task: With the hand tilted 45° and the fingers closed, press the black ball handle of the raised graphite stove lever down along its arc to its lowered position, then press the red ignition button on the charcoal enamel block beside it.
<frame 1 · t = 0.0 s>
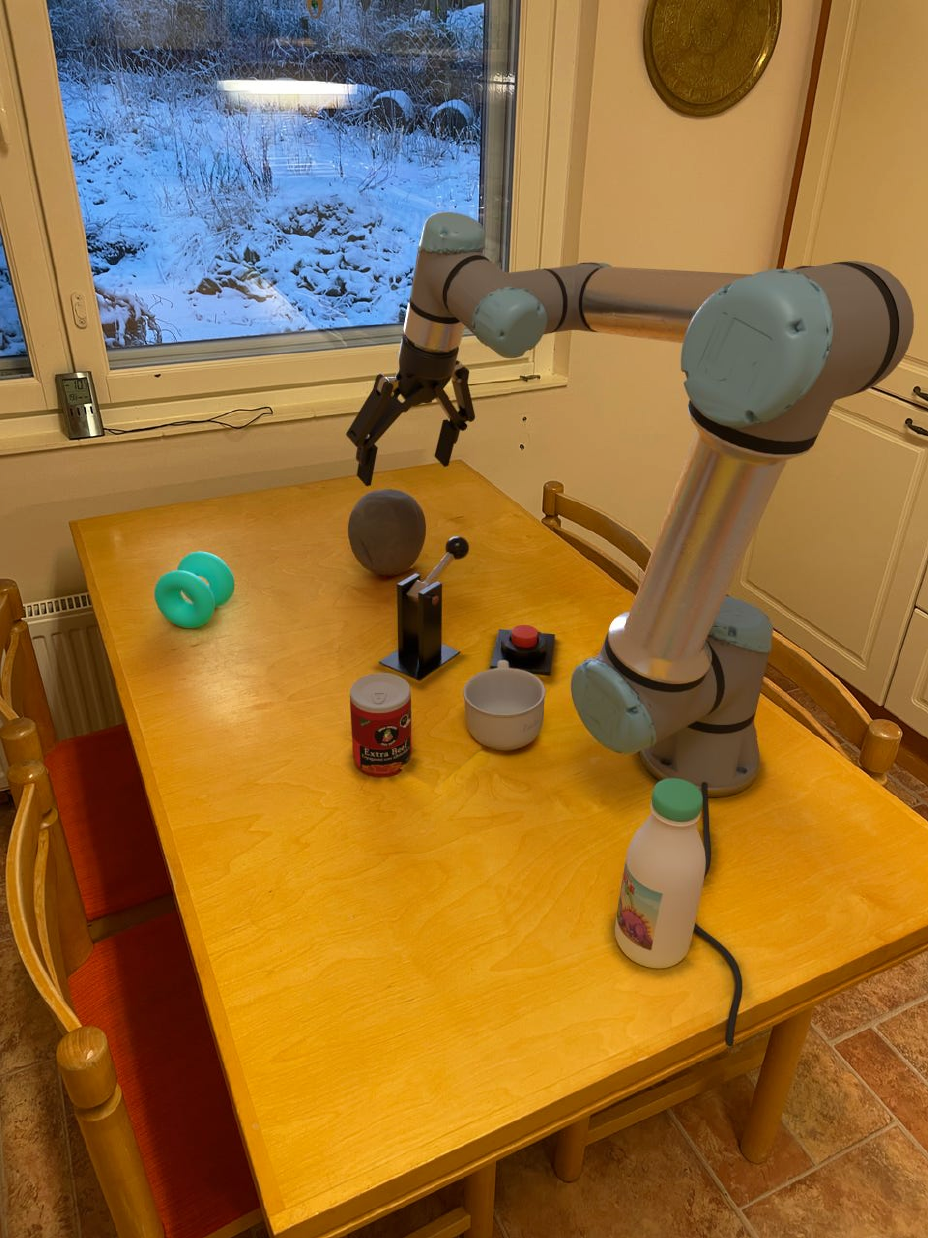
hand: (403, 470, 131), 28 cm above the table, tool tilted 20°, fingers open, 13 cm apart
igniter: (523, 658, 140), on the table
canned food: (382, 760, 118), on the table
lever: (439, 569, 135), point 14 cm above the table, hinge at 24.0°
stove bracket: (419, 663, 138), on the table
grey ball: (388, 571, 165), on the table
donuts: (199, 617, 149), on the table
teacup: (503, 731, 124), on the table
milk bottle: (651, 941, 94), on the table
ignition button: (524, 636, 138), point 4 cm above the table, slide at 0.1 cm
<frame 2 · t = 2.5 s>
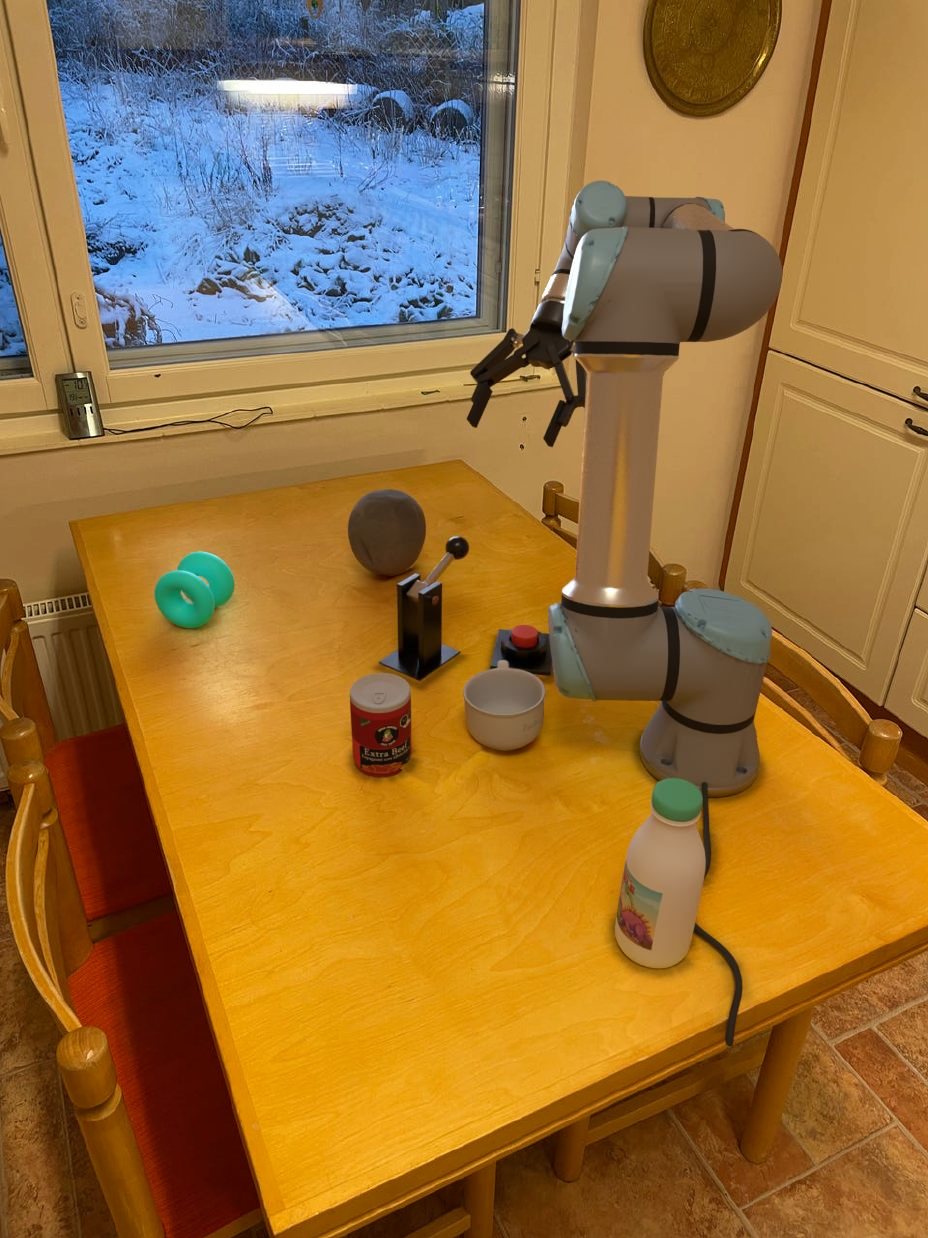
hand: (508, 433, 139), 30 cm above the table, tool tilted 40°, fingers open, 13 cm apart
nothing on the table moved.
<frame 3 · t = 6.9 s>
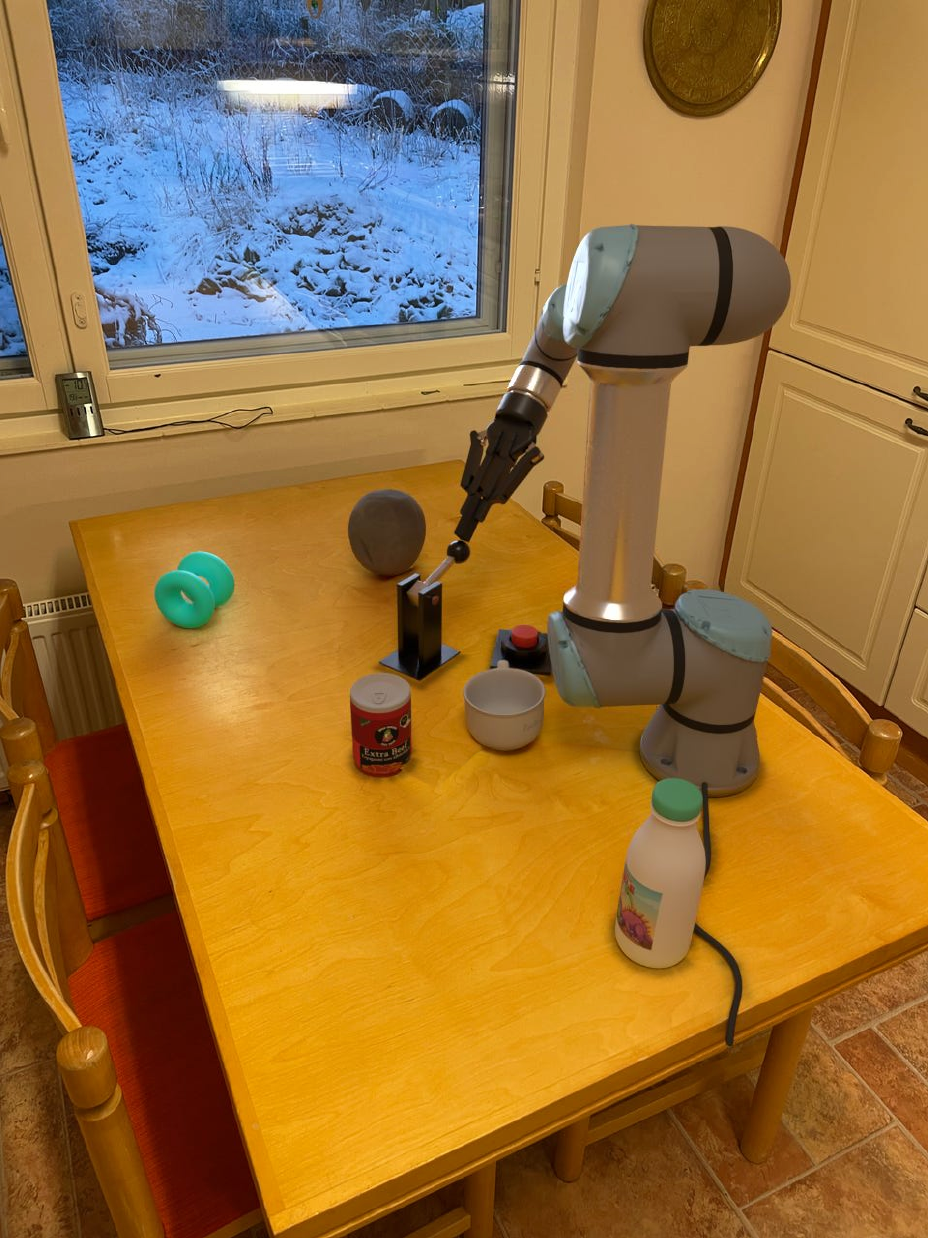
hand: (461, 537, 137), 17 cm above the table, tool tilted 45°, fingers closed
lever: (440, 571, 135), point 14 cm above the table, hinge at 19.0°, touching gripper
everything else where it was.
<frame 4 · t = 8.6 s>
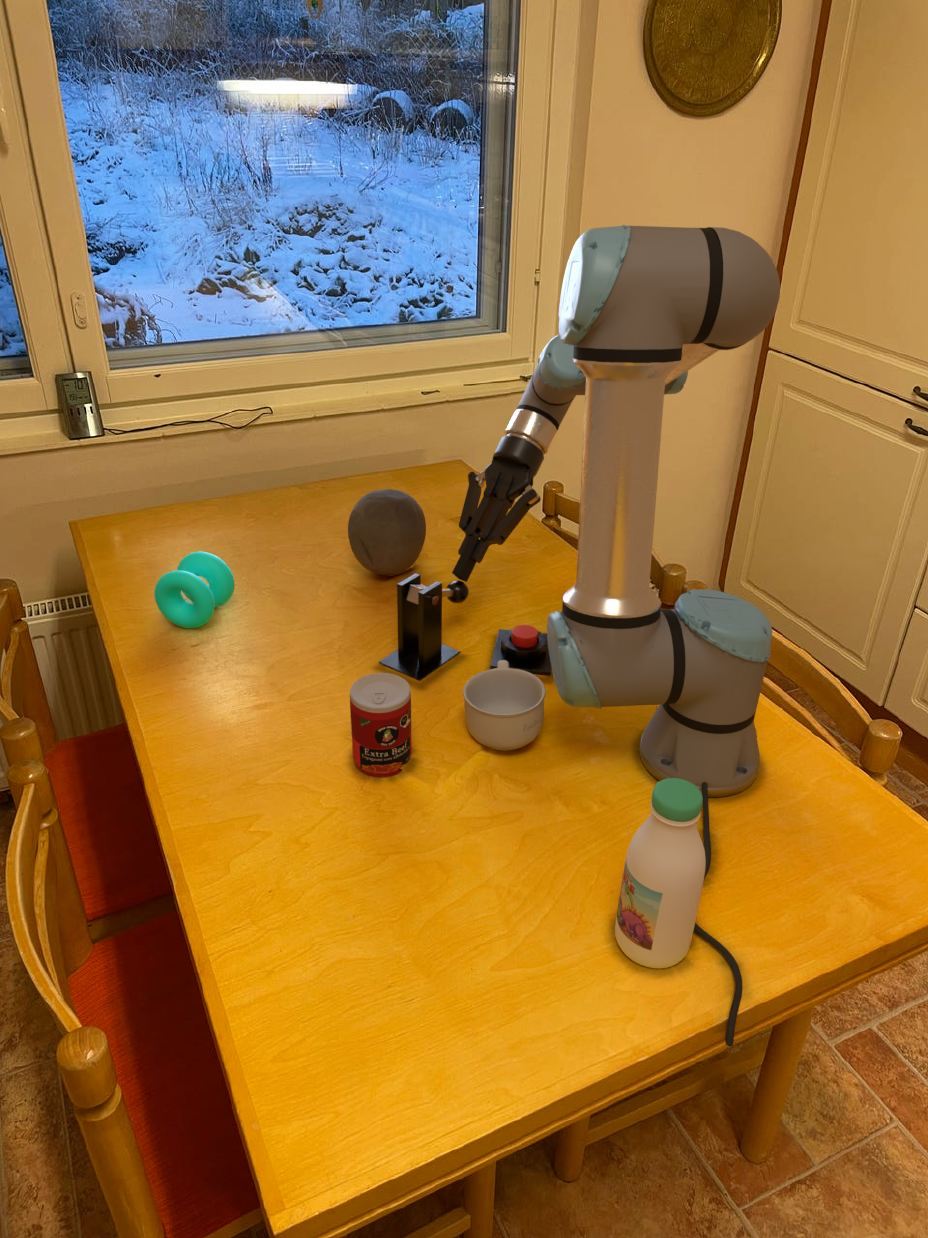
hand: (459, 577, 140), 11 cm above the table, tool tilted 45°, fingers closed
lever: (439, 593, 137), point 10 cm above the table, hinge at -21.2°, touching gripper
everything else where it was.
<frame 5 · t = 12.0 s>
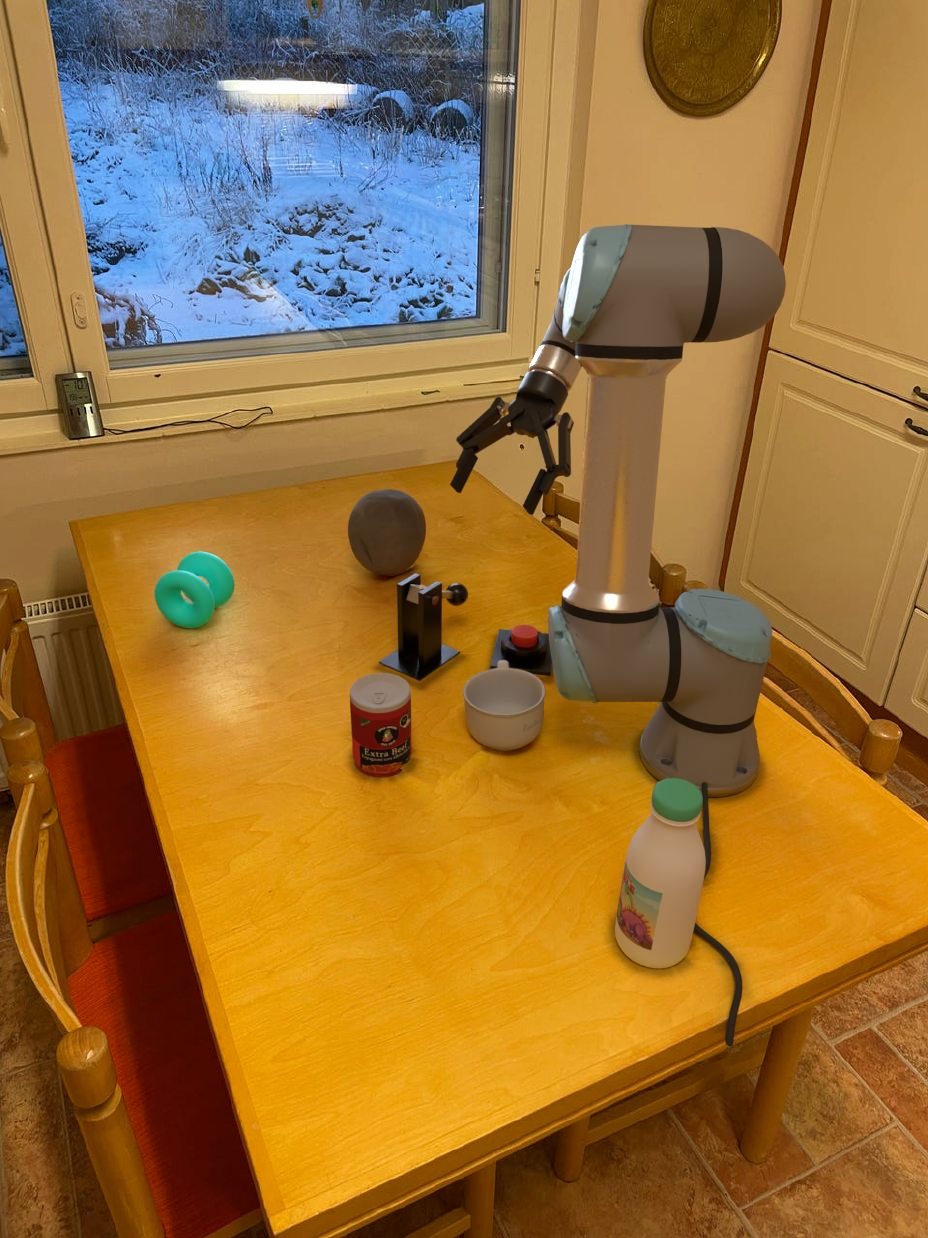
hand: (490, 499, 140), 21 cm above the table, tool tilted 45°, fingers open, 13 cm apart
lever: (439, 594, 137), point 10 cm above the table, hinge at -23.3°
everything else where it was.
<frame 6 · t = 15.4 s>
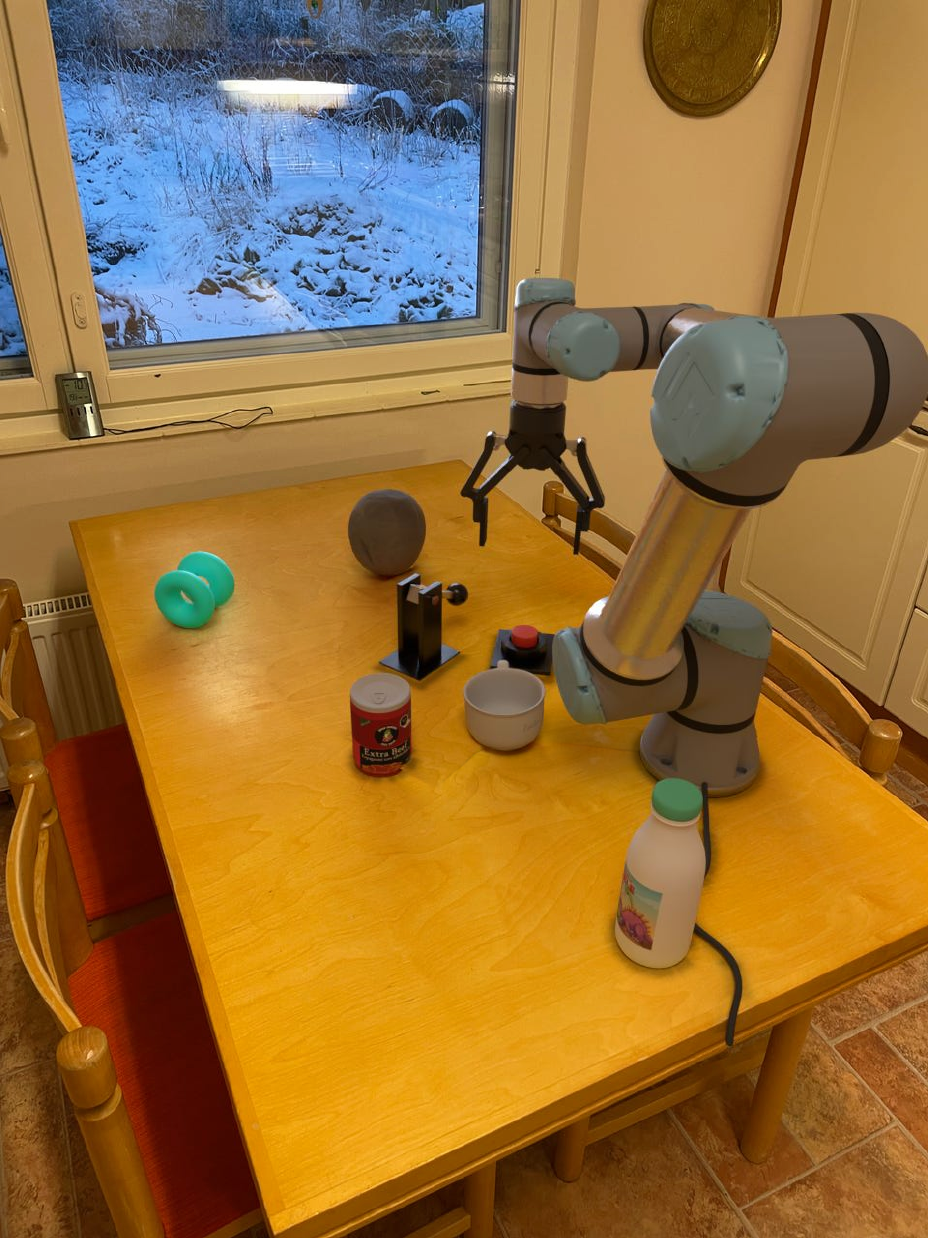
hand: (529, 547, 131), 19 cm above the table, tool pointing down, fingers open, 13 cm apart
nothing on the table moved.
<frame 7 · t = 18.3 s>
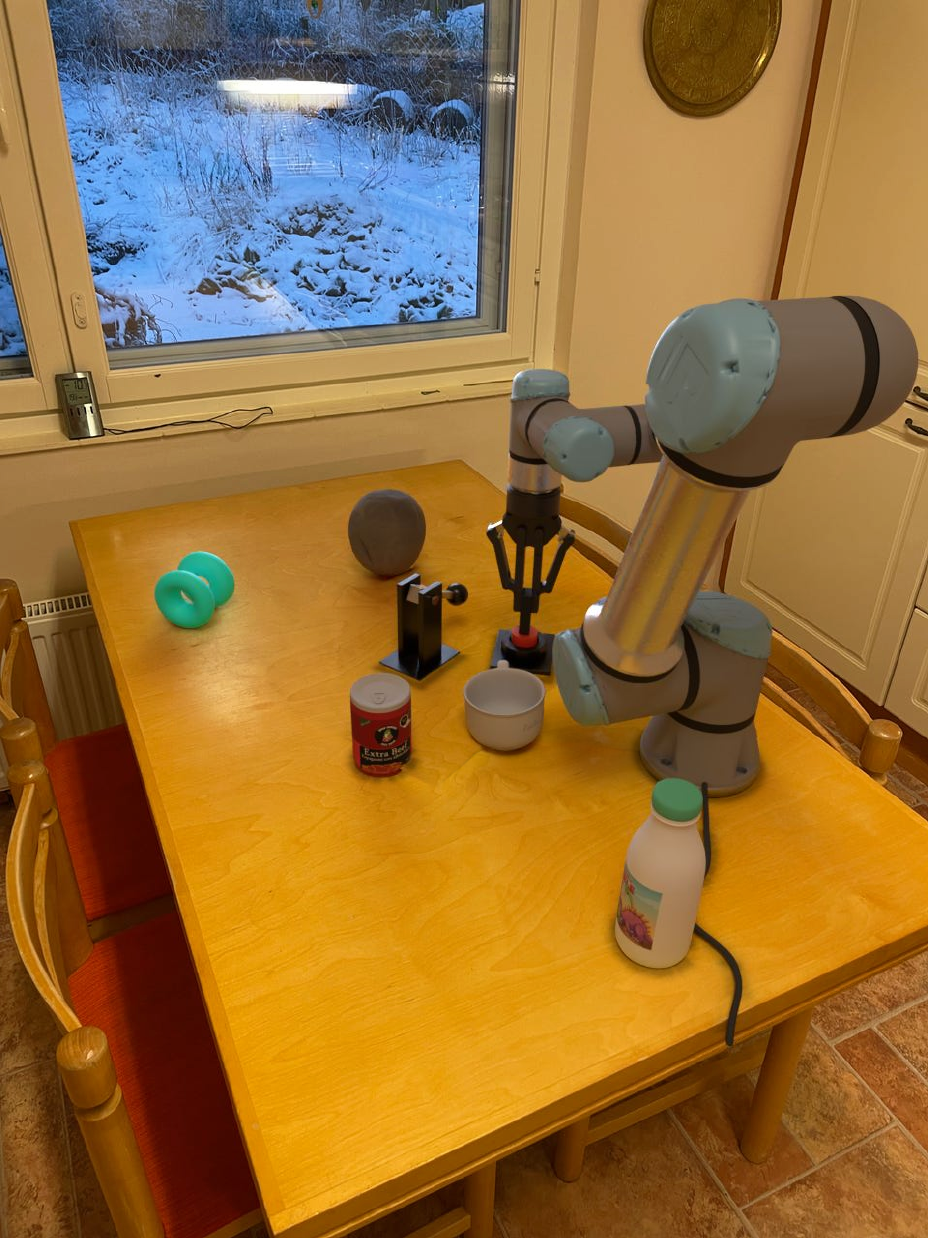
hand: (524, 629, 137), 5 cm above the table, tool pointing down, fingers closed
ignition button: (524, 636, 138), point 4 cm above the table, slide at 0.1 cm, touching gripper
everything else where it was.
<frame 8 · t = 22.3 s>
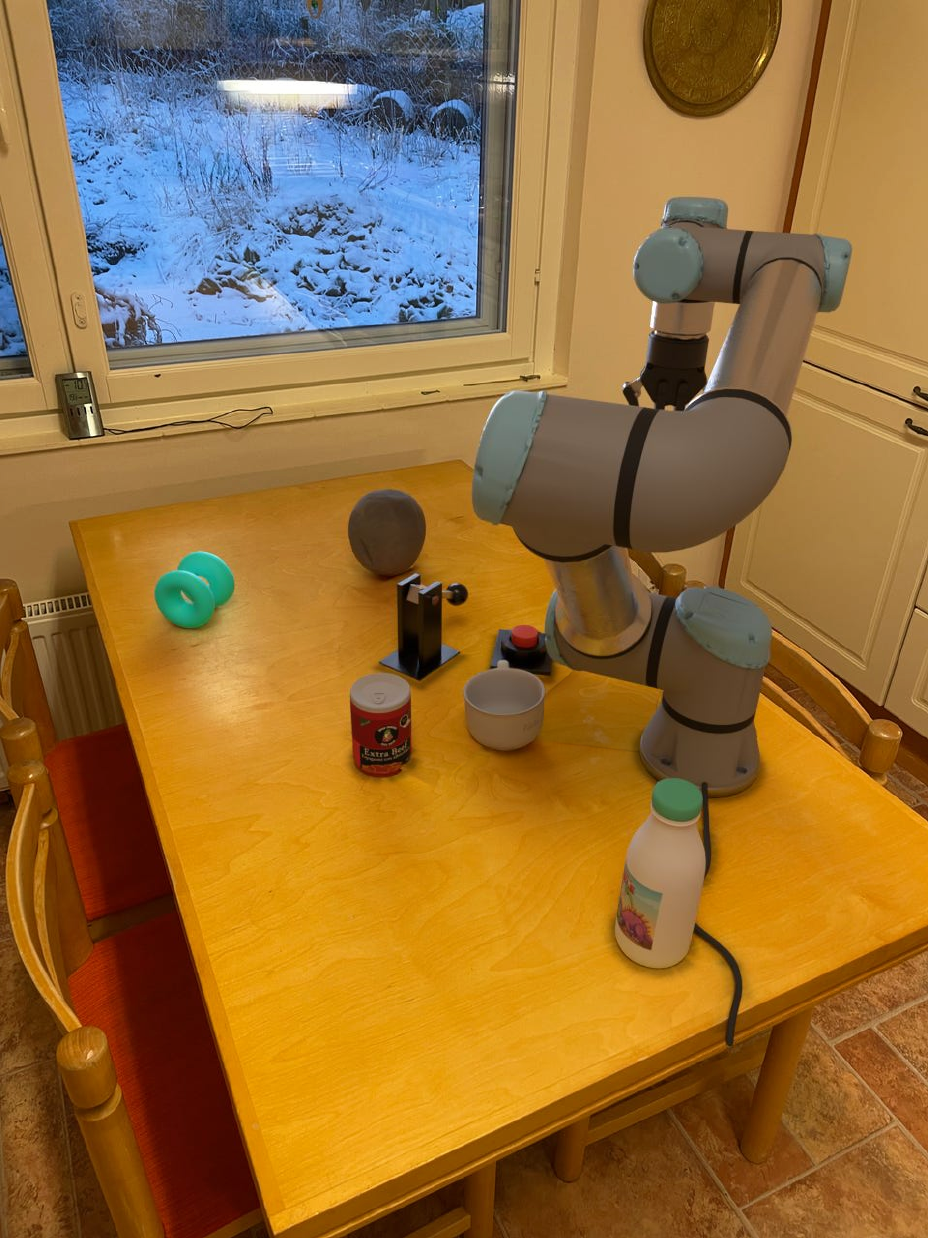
hand: (655, 505, 126), 26 cm above the table, tool pointing down, fingers closed
ignition button: (524, 636, 138), point 4 cm above the table, slide at 0.1 cm
everything else where it was.
at the end: lever at -23° (first picture: +24°); ignition button pushed in 1.0 cm at the most during the clip, back to where it started at the end; ignition button slide at 0.1 cm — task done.
